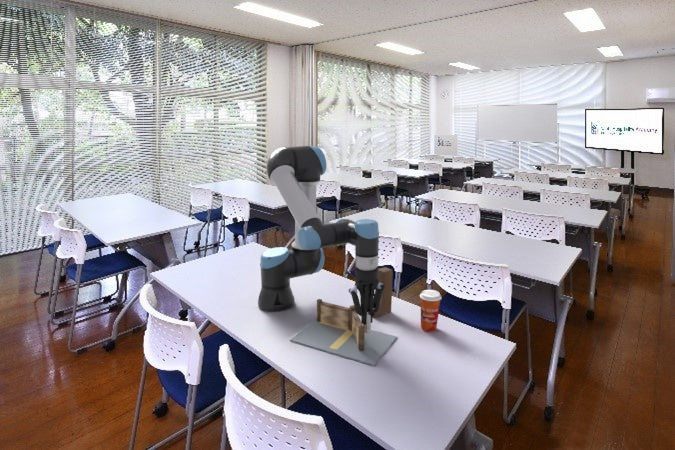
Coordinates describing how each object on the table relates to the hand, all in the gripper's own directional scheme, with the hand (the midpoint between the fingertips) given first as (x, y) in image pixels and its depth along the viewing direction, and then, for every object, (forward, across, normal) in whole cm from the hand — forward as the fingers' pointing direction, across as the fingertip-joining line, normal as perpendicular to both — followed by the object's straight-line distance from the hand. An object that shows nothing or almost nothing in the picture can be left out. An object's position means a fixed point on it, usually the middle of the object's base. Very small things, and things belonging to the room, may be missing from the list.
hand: (367, 332), depth 141 cm
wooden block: (+5, +16, +19) cm, 25 cm away
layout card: (+4, -6, +6) cm, 10 cm away
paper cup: (+5, +26, 0) cm, 27 cm away
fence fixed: (+4, -4, +16) cm, 17 cm away
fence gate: (+4, -2, +2) cm, 5 cm away
